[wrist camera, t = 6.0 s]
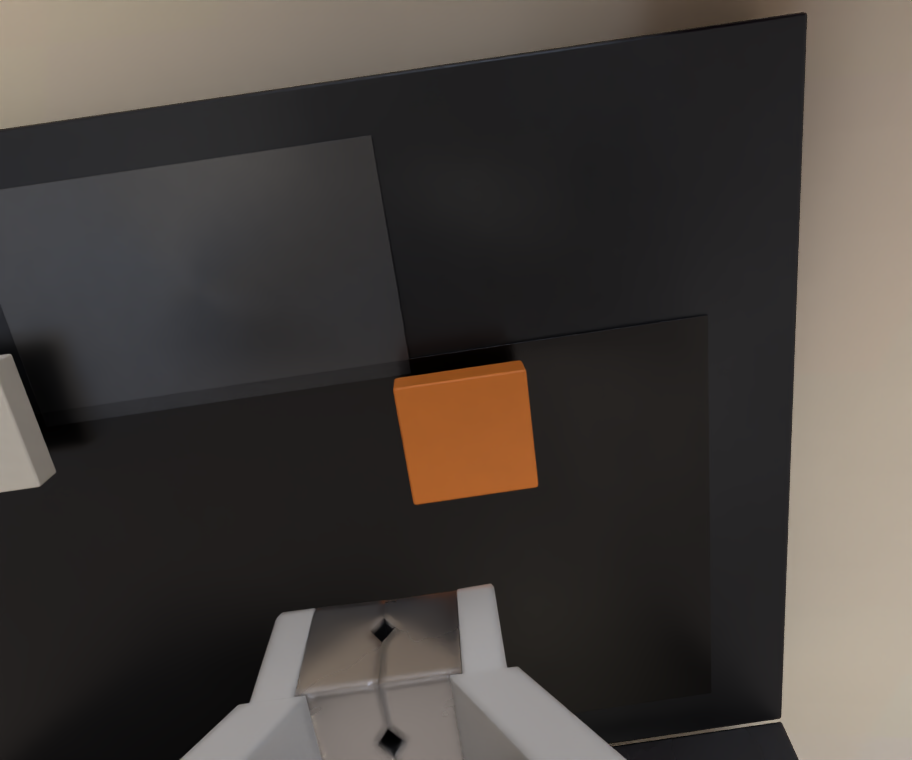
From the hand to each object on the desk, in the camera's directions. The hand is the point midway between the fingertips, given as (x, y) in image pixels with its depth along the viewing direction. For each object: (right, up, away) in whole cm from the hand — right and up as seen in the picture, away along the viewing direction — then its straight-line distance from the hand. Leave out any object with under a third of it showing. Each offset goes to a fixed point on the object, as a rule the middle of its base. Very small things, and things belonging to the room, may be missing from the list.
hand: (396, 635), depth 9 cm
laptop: (-5, +1, +11) cm, 12 cm away
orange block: (+1, +3, +8) cm, 9 cm away
